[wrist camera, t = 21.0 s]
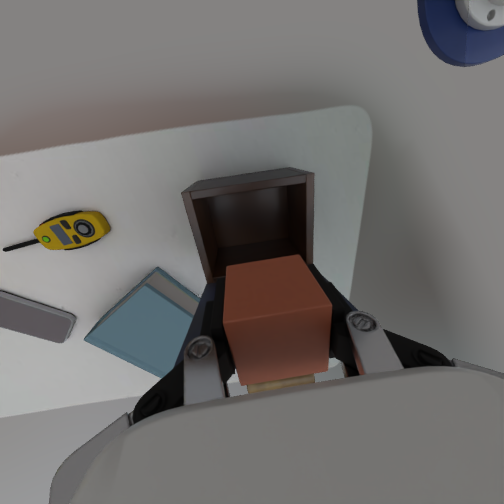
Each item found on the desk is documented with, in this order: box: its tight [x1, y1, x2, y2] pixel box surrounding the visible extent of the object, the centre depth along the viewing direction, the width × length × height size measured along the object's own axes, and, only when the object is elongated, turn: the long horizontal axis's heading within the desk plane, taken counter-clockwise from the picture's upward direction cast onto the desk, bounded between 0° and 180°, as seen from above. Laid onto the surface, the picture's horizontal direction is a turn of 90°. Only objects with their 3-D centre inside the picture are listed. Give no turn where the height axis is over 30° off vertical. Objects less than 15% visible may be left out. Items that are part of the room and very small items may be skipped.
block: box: [223, 254, 332, 386], centre depth 11 cm, size 4×4×4 cm
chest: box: [181, 167, 314, 284], centre depth 24 cm, size 11×13×9 cm
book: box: [84, 267, 200, 378], centre depth 35 cm, size 23×16×5 cm
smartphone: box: [0, 291, 75, 343], centre depth 32 cm, size 7×1×15 cm
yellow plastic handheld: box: [3, 211, 110, 252], centre depth 27 cm, size 5×2×15 cm
